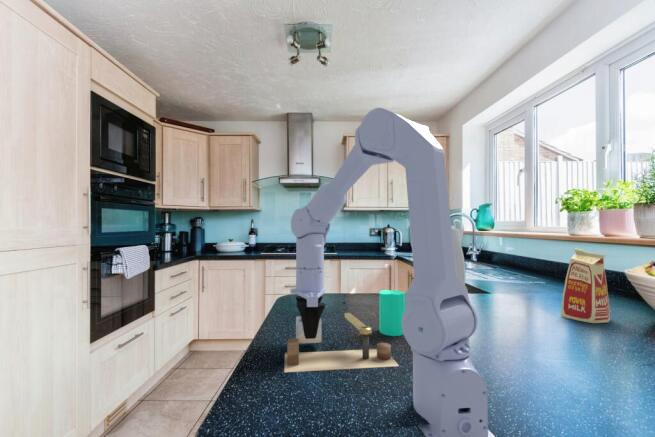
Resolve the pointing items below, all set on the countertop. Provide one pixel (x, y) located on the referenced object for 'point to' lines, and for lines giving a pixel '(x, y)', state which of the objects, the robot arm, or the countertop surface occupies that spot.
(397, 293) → the candle
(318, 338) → the frosted white cube
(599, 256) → the milk carton
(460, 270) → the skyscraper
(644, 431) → the countertop surface
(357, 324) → the lever
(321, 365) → the wooden tray with blocks
